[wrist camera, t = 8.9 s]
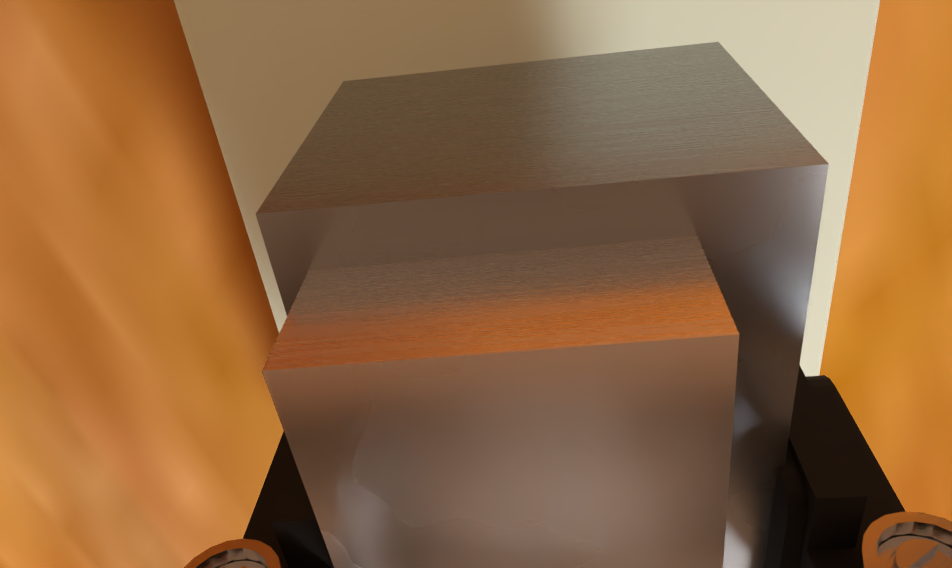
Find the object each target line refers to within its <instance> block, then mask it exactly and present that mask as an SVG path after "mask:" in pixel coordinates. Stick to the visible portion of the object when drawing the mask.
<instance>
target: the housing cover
mask: <svg viewBox="0 0 952 568" xmlns="http://www.w3.org/2000/svg"><path fill="white" fill-rule="evenodd" d="M738 346H739V332H738V330H737V328H736V326H735V323H734V321H733V319H732V316H731V314H730V312H729V309H728V307H727V305H726V302H725V300H724V298H723V295H722V293H721V291H720V288H719V286H718V284H717V281H716V279H715V277H714V274H713V272H712V270H711V267H710V265H709V263H708V260H707V258H706V256H705V253H704V251H703V249H702V246H701V244H700V242H699V239H698V237H697V235H692V236H681V237H670V238H659V239H649V240H638V241H627V242H616V243H605V244H594V245H583V246H573V247H562V248H551V249H540V250H529V251H518V252H507V253H497V254H486V255H475V256H464V257H453V258H442V259H431V260H421V261H410V262H399V263H388V264H377V265H366V266H355V267H345V268H334V269H323V270H312V271H308V273H307V275H306V277H305V279H304V281H303V284H302V286H301V288H300V290H299V292H298V294H297V296H296V299H295V301H294V303H293V305H292V307H291V309H290V312H289V314H288V316H287V318H286V320H285V322H284V324H283V327H282V329H281V331H280V333H279V335H278V337H277V340H276V342H275V344H274V346H273V348H272V350H271V352H270V355H269V357H268V359H267V361H266V363H265V365H264V368H263V370H262V372H263V375H264V378H265V380H266V383H267V386H268V389H269V391H270V394H271V397H272V400H273V402H274V405H275V408H276V410H277V413H278V416H279V419H280V421H281V424H282V427H283V429H284V432H285V435H286V438H287V440H288V443H289V446H290V449H291V451H292V454H293V457H294V459H295V462H296V465H297V468H298V470H299V473H300V476H301V478H302V481H303V484H304V487H305V489H306V492H307V495H308V498H309V500H310V503H311V506H312V508H313V511H314V514H315V517H316V519H317V522H318V525H319V528H320V530H321V533H322V536H323V538H324V541H325V544H326V547H327V549H328V552H329V555H330V557H331V560H332V563H333V566H334V568H723V561H724V547H725V532H726V518H727V504H728V489H729V475H730V461H731V447H732V432H733V418H734V404H735V389H736V375H737V361H738Z"/></svg>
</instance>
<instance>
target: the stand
mask: <svg viewBox="0 0 952 568" xmlns="http://www.w3.org/2000/svg"><path fill="white" fill-rule="evenodd" d="M174 3H175V6H176V9H177V12H178V16H179V19H180V22H181V25H182V28H183V31H184V35H185V38H186V41H187V44H188V47H189V50H190V53H191V57H192V60H193V63H194V66H195V69H196V72H197V76H198V79H199V82H200V85H201V88H202V91H203V95H204V98H205V101H206V104H207V107H208V110H209V113H210V117H211V120H212V123H213V126H214V129H215V132H216V136H217V139H218V142H219V145H220V148H221V151H222V155H223V158H224V161H225V164H226V167H227V170H228V173H229V177H230V180H231V183H232V186H233V189H234V192H235V196H236V199H237V202H238V205H239V208H240V211H241V215H242V218H243V221H244V224H245V227H246V230H247V233H248V237H249V240H250V243H251V246H252V249H253V252H254V256H255V259H256V262H257V265H258V268H259V271H260V275H261V278H262V281H263V284H264V287H265V290H266V293H267V297H268V300H269V303H270V306H271V309H272V312H273V316H274V319H275V322H276V325H277V328H278V331H279V333H280V331H281V329H282V327H283V324H284V322H285V320H286V318H287V315H286V311H285V308H284V305H283V302H282V298H281V295H280V292H279V289H278V285H277V282H276V279H275V276H274V272H273V269H272V266H271V263H270V260H269V256H268V253H267V250H266V247H265V243H264V240H263V237H262V234H261V230H260V227H259V224H258V221H257V218H256V212H257V211H258V209H259V208H260V206H261V205H262V203H263V202H264V200H265V199H266V197H267V196H268V194H269V193H270V191H271V190H272V188H273V187H274V185H275V184H276V182H277V181H278V179H279V178H280V176H281V175H282V173H283V172H284V170H285V169H286V167H287V165H288V164H289V162H290V161H291V159H292V158H293V156H294V155H295V153H296V152H297V150H298V149H299V147H300V146H301V144H302V143H303V141H304V140H305V138H306V137H307V135H308V134H309V132H310V131H311V129H312V128H313V126H314V125H315V123H316V122H317V120H318V119H319V117H320V116H321V114H322V113H323V111H324V110H325V108H326V107H327V105H328V104H329V102H330V101H331V99H332V98H333V96H334V95H335V93H336V92H337V90H338V89H339V87H340V86H341V84H342V83H343V81H350V80H359V79H369V78H378V77H388V76H397V75H407V74H416V73H426V72H435V71H445V70H454V69H464V68H473V67H483V66H492V65H502V64H511V63H521V62H530V61H540V60H549V59H559V58H568V57H578V56H587V55H597V54H606V53H616V52H625V51H635V50H644V49H654V48H663V47H673V46H682V45H692V44H701V43H711V42H719V43H720V44H721V45H722V46H723V47H724V48H725V50H726V51H727V52H728V53H729V54H730V55H731V56H732V57H733V58H734V60H735V61H736V62H737V63H738V64H739V65H740V66H741V67H742V68H743V69H744V71H745V72H746V73H747V74H748V75H749V76H750V77H751V78H752V79H753V81H754V82H755V83H756V84H757V85H758V86H759V87H760V88H761V89H762V90H763V92H764V93H765V94H766V95H767V96H768V97H769V98H770V99H771V100H772V102H773V103H774V104H775V105H776V106H777V107H778V108H779V109H780V110H781V111H782V113H783V114H784V115H785V116H786V117H787V118H788V119H789V120H790V121H791V123H792V124H793V125H794V126H795V127H796V128H797V129H798V130H799V131H800V132H801V134H802V135H803V136H804V137H805V138H806V139H807V140H808V141H809V142H810V144H811V145H812V146H813V147H814V148H815V149H816V150H817V151H818V152H819V153H820V155H821V156H822V157H823V158H824V159H825V160H826V161H827V162H828V163H829V167H828V174H827V180H826V187H825V194H824V201H823V208H822V214H821V221H820V228H819V235H818V242H817V248H816V255H815V262H814V269H813V276H812V283H811V289H810V296H809V303H808V310H807V317H806V323H805V330H804V337H803V344H802V351H801V357H800V364H799V365H800V367H801V369H802V370H803V372H804V374H805V376H819V373H820V367H821V361H822V355H823V348H824V342H825V336H826V330H827V324H828V318H829V311H830V305H831V299H832V293H833V287H834V281H835V275H836V268H837V262H838V256H839V250H840V244H841V238H842V231H843V225H844V219H845V213H846V207H847V201H848V194H849V188H850V182H851V176H852V170H853V164H854V157H855V151H856V145H857V139H858V133H859V127H860V120H861V114H862V108H863V102H864V96H865V90H866V83H867V77H868V71H869V65H870V59H871V53H872V47H873V40H874V34H875V28H876V22H877V16H878V10H879V3H880V0H174Z"/></svg>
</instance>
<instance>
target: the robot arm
mask: <svg viewBox="0 0 952 568" xmlns="http://www.w3.org/2000/svg"><path fill="white" fill-rule="evenodd" d="M184 568H334V566H333V563H332V560H331V557H330V555H329V552H328V549H327V547H326V544H325V541H324V538H323V536H322V533H321V530H320V528H319V525H318V522H317V519H316V517H315V514H314V511H313V508H312V506H311V503H310V500H309V498H308V495H307V492H306V489H305V487H304V484H303V481H302V478H301V476H300V473H299V470H298V468H297V465H296V462H295V459H294V457H293V454H292V451H291V449H290V446H289V443H288V440H287V438H286V435H285V432H283V435H282V437H281V440H280V443H279V445H278V448H277V451H276V453H275V456H274V458H273V461H272V464H271V466H270V469H269V472H268V474H267V477H266V480H265V482H264V485H263V487H262V490H261V493H260V495H259V498H258V501H257V503H256V506H255V508H254V511H253V514H252V516H251V519H250V522H249V524H248V527H247V530H246V532H245V535H244V537H243V539H237V540H230V541H226V542H223V543H221V544H218V545H215V546H213V547H210V548H209V549H207V550H205V551H204V552H202V553H201V554H199V555H198V556H196V557H195V558H193V559H192V560H191V561H190V562H189V563H188V564H187V565H186V566H185V567H184ZM764 568H952V522H951V521H949V520H947V519H944V518H941V517H937V516H933V515H929V514H926V513H920V512H905V510H904V508H903V506H902V505H901V503H900V501H899V499H898V497H897V496H896V494H895V492H894V490H893V489H892V487H891V485H890V483H889V481H888V480H887V478H886V476H885V474H884V472H883V471H882V469H881V467H880V465H879V464H878V462H877V460H876V458H875V456H874V455H873V453H872V451H871V449H870V448H869V446H868V444H867V442H866V440H865V439H864V437H863V435H862V433H861V431H860V430H859V428H858V426H857V424H856V423H855V421H854V419H853V417H852V415H851V414H850V412H849V410H848V408H847V407H846V405H845V403H844V401H843V399H842V398H841V396H840V394H839V392H838V390H837V389H836V387H835V385H834V384H833V382H832V381H831V380H830V378H828V377H826V376H825V375H823V376H805V374H804V372H803V370H802V369H801V367H800V365H799V371H798V378H797V385H796V391H795V398H794V405H793V412H792V419H791V425H790V432H789V439H788V446H787V453H786V459H785V466H784V467H778V471H777V478H776V485H775V492H774V499H773V506H772V514H771V521H770V528H769V535H768V542H767V549H766V556H765V563H764Z"/></svg>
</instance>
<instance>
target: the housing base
mask: <svg viewBox="0 0 952 568" xmlns="http://www.w3.org/2000/svg"><path fill="white" fill-rule="evenodd" d="M828 167H829V163H828V162H827V161H826V160H825V159H824V158H823V157H822V156H821V155H820V153H819V152H818V151H817V150H816V149H815V148H814V147H813V146H812V145H811V144H810V142H809V141H808V140H807V139H806V138H805V137H804V136H803V135H802V134H801V132H800V131H799V130H798V129H797V128H796V127H795V126H794V125H793V124H792V123H791V121H790V120H789V119H788V118H787V117H786V116H785V115H784V114H783V113H782V111H781V110H780V109H779V108H778V107H777V106H776V105H775V104H774V103H773V102H772V100H771V99H770V98H769V97H768V96H767V95H766V94H765V93H764V92H763V90H762V89H761V88H760V87H759V86H758V85H757V84H756V83H755V82H754V81H753V79H752V78H751V77H750V76H749V75H748V74H747V73H746V72H745V71H744V69H743V68H742V67H741V66H740V65H739V64H738V63H737V62H736V61H735V60H734V58H733V57H732V56H731V55H730V54H729V53H728V52H727V51H726V50H725V48H724V47H723V46H722V45H721V44H720V43H719V42H711V43H701V44H692V45H682V46H673V47H663V48H654V49H644V50H635V51H625V52H616V53H606V54H597V55H587V56H578V57H568V58H559V59H549V60H540V61H530V62H521V63H511V64H502V65H492V66H483V67H473V68H464V69H454V70H445V71H435V72H426V73H416V74H407V75H397V76H388V77H378V78H369V79H359V80H350V81H343V83H342V84H341V86H340V87H339V89H338V90H337V92H336V93H335V95H334V96H333V98H332V99H331V101H330V102H329V104H328V105H327V107H326V108H325V110H324V111H323V113H322V114H321V116H320V117H319V119H318V120H317V122H316V123H315V125H314V126H313V128H312V129H311V131H310V132H309V134H308V135H307V137H306V138H305V140H304V141H303V143H302V144H301V146H300V147H299V149H298V150H297V152H296V153H295V155H294V156H293V158H292V159H291V161H290V162H289V164H288V165H287V167H286V169H285V170H284V172H283V173H282V175H281V176H280V178H279V179H278V181H277V182H276V184H275V185H274V187H273V188H272V190H271V191H270V193H269V194H268V196H267V197H266V199H265V200H264V202H263V203H262V205H261V206H260V208H259V209H258V211H257V212H256V218H257V221H258V224H259V227H260V230H261V234H262V237H263V240H264V243H265V247H266V250H267V253H268V256H269V260H270V263H271V266H272V269H273V272H274V276H275V279H276V282H277V285H278V289H279V292H280V295H281V298H282V302H283V305H284V308H285V311H286V315H287V316H288V314H289V312H290V309H291V307H292V305H293V303H294V301H295V299H296V296H297V294H298V292H299V290H300V288H301V286H302V284H303V281H304V279H305V277H306V275H307V273H308V271H312V270H323V269H334V268H345V267H355V266H366V265H377V264H388V263H399V262H410V261H421V260H431V259H442V258H453V257H464V256H475V255H486V254H497V253H507V252H518V251H529V250H540V249H551V248H562V247H573V246H583V245H594V244H605V243H616V242H627V241H638V240H649V239H659V238H670V237H681V236H692V235H697V237H698V239H699V242H700V244H701V246H702V249H703V251H704V253H705V256H706V258H707V260H708V263H709V265H710V267H711V270H712V272H713V274H714V277H715V279H716V281H717V284H718V286H719V288H720V291H721V293H722V295H723V298H724V300H725V302H726V305H727V307H728V309H729V312H730V314H731V316H732V319H733V321H734V323H735V326H736V328H737V330H738V332H739V346H738V361H737V375H736V389H735V404H734V418H733V432H732V447H731V461H730V475H729V489H728V504H727V518H726V532H725V547H724V561H723V568H764V563H765V556H766V549H767V542H768V535H769V528H770V521H771V514H772V506H773V499H774V492H775V485H776V478H777V471H778V467H784V466H785V459H786V453H787V446H788V439H789V432H790V425H791V419H792V412H793V405H794V398H795V391H796V385H797V378H798V371H799V364H800V357H801V351H802V344H803V337H804V330H805V323H806V317H807V310H808V303H809V296H810V289H811V283H812V276H813V269H814V262H815V255H816V248H817V242H818V235H819V228H820V221H821V214H822V208H823V201H824V194H825V187H826V180H827V174H828Z"/></svg>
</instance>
